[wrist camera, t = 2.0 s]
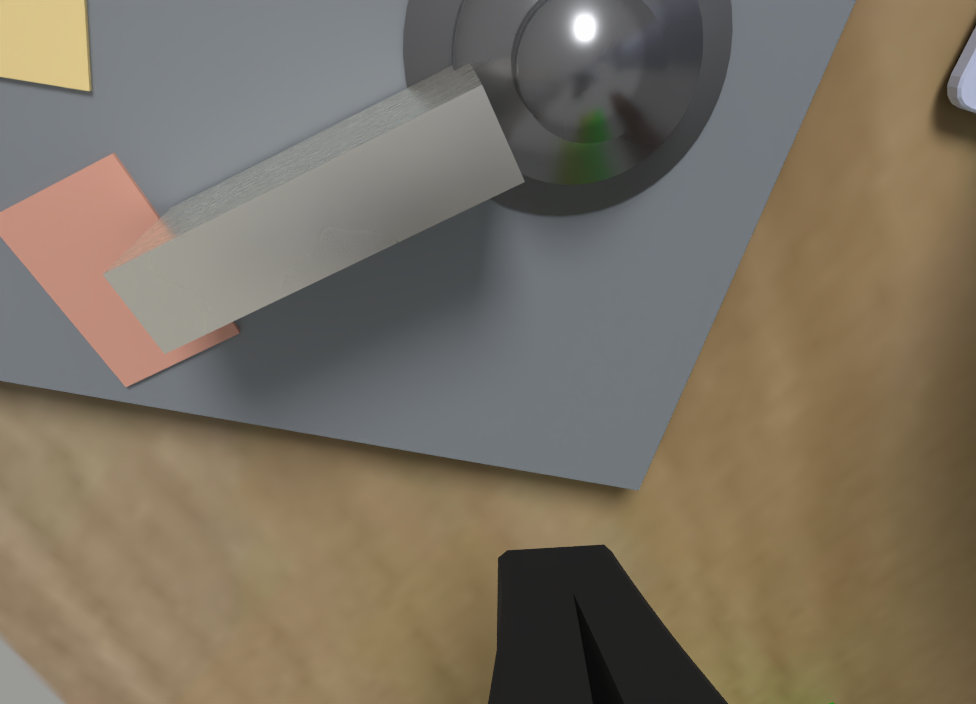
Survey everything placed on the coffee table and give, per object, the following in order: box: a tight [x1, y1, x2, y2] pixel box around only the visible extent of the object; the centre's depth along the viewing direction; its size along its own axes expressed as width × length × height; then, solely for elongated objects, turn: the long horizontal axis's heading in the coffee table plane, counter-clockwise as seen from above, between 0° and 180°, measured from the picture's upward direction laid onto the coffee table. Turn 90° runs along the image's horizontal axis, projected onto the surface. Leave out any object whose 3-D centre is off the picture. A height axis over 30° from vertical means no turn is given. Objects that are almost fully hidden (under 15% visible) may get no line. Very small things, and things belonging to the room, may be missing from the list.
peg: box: [103, 0, 703, 354], centre depth 11 cm, size 10×4×3 cm, turn 115°
